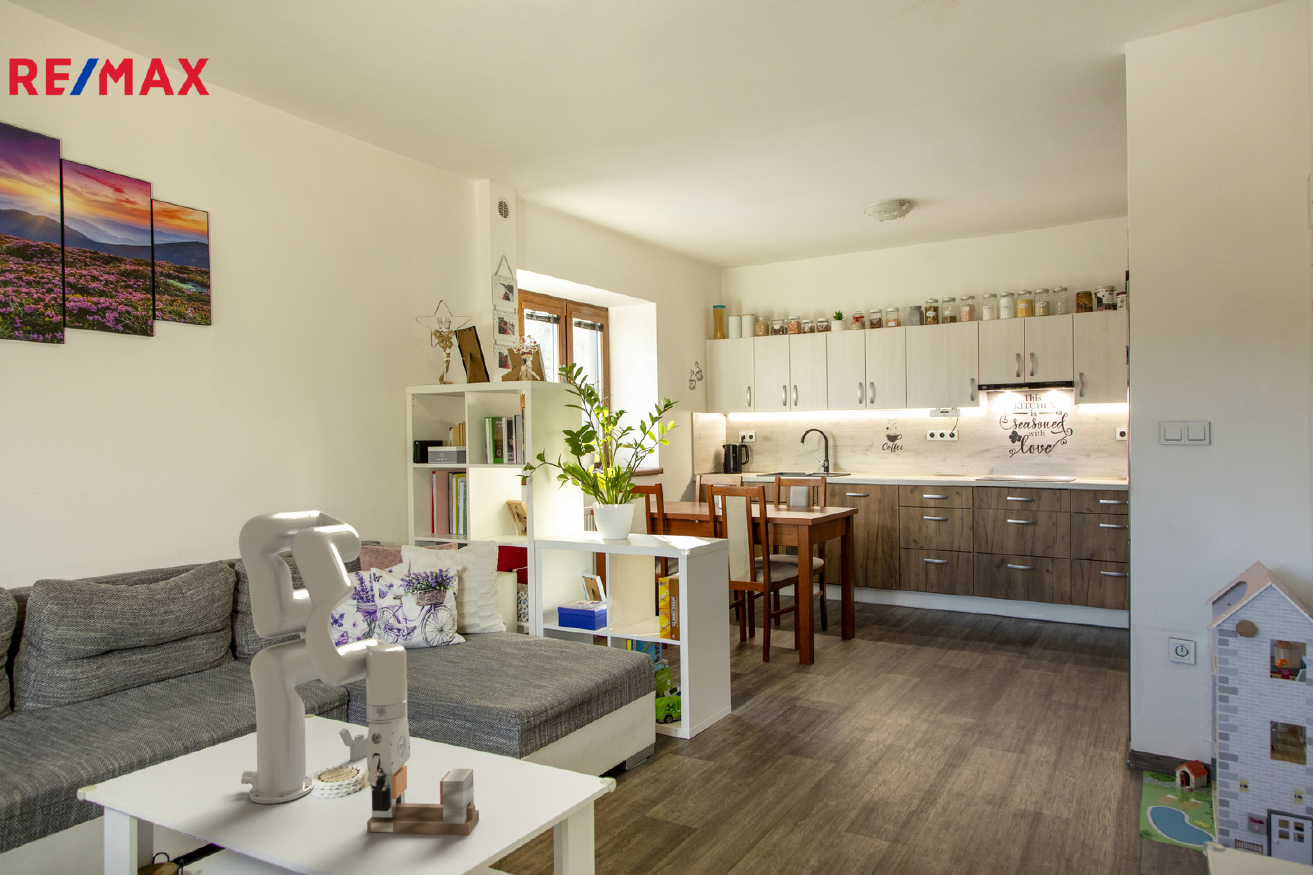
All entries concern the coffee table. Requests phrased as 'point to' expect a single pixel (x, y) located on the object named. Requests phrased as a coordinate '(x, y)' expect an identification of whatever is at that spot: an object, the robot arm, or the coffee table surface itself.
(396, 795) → the white and wooden block
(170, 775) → the coffee table surface
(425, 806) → the rail
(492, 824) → the coffee table surface
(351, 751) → the lighter
